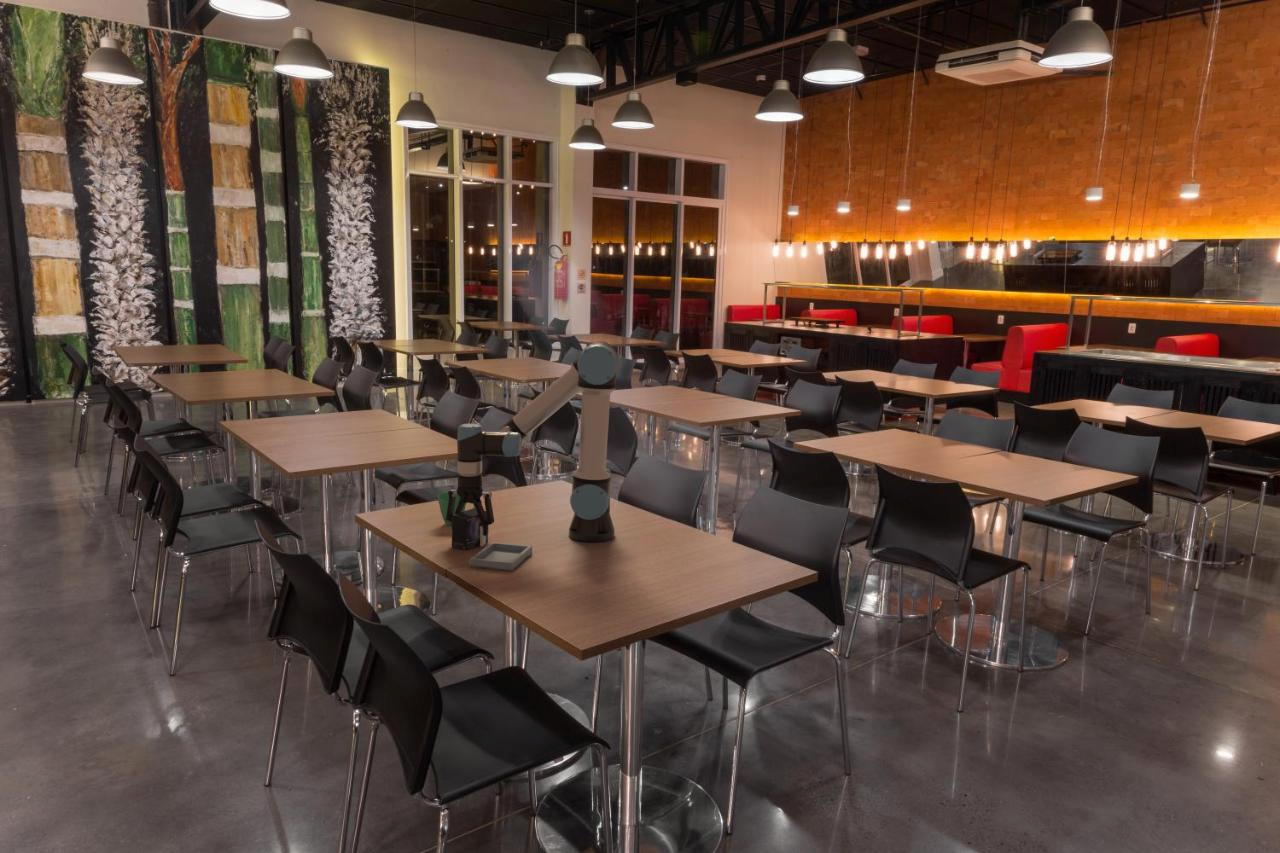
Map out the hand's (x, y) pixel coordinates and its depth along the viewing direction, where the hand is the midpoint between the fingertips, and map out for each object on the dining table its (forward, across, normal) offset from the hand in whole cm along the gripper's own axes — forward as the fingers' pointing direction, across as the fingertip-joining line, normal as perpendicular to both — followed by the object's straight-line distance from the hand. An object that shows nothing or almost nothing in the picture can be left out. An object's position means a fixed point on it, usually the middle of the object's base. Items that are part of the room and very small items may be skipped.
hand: (470, 543), depth 266 cm
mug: (+1, +13, -21) cm, 25 cm away
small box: (+1, 0, 0) cm, 1 cm away
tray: (0, -15, +11) cm, 19 cm away
